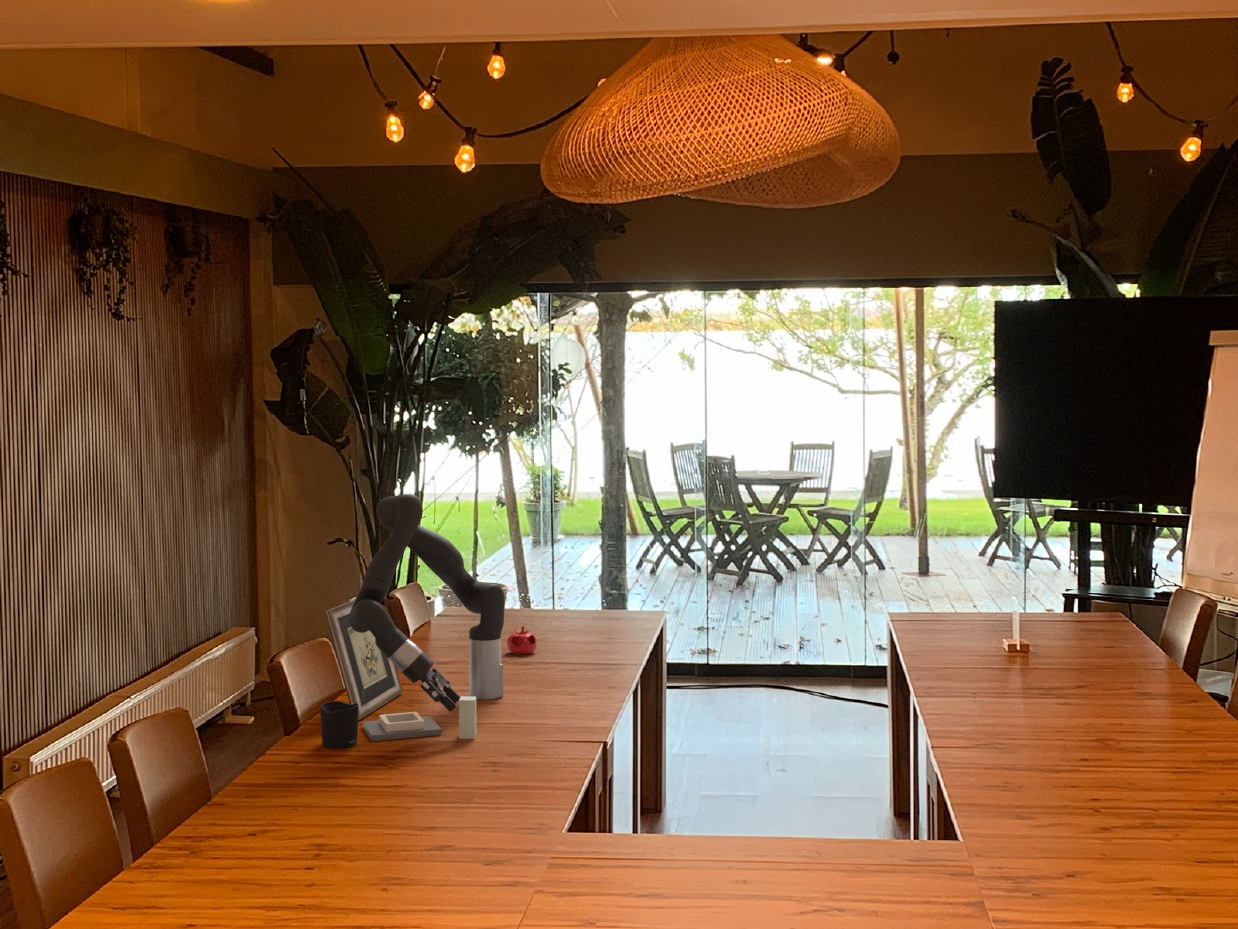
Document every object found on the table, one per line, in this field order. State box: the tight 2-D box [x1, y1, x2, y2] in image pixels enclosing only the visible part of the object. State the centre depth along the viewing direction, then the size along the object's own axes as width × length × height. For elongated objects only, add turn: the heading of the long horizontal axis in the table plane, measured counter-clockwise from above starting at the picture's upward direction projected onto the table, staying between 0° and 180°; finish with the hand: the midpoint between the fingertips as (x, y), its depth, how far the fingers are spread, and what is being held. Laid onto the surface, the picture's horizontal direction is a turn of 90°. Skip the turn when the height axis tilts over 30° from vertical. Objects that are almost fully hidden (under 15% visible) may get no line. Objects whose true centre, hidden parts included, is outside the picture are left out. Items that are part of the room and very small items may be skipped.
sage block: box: [458, 695, 477, 740], centre depth 325 cm, size 4×4×10 cm
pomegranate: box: [506, 625, 537, 656], centre depth 429 cm, size 10×10×9 cm
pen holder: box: [319, 700, 359, 750], centre depth 317 cm, size 9×9×10 cm
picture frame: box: [324, 598, 404, 722], centre depth 355 cm, size 33×10×30 cm, turn 168°
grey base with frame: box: [362, 711, 443, 742], centre depth 330 cm, size 18×14×4 cm
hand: (455, 705), depth 325 cm, fingers open, 8 cm apart
